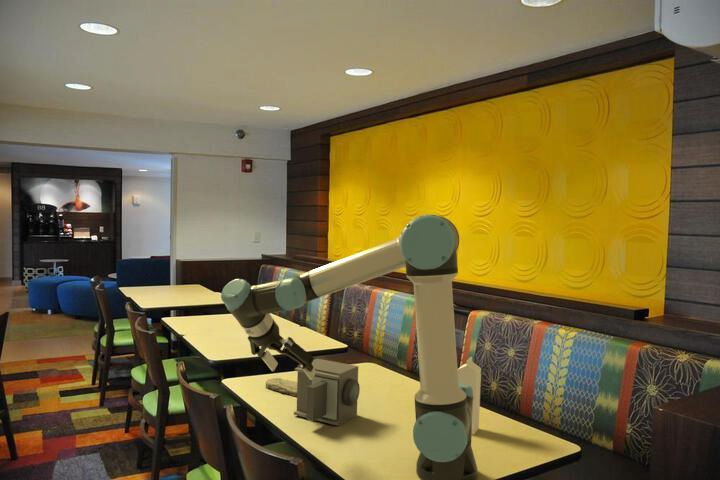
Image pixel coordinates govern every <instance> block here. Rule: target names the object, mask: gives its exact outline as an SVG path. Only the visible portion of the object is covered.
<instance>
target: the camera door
mask: <svg viewBox="0 0 720 480" xmlns="http://www.w3.org/2000/svg"><path fill="white" fill-rule="evenodd" d="M337 387H338V380H333V379H329V378H324V377H319V376H314V377H313V379H312V385H310V386H307V418H306V421H310V422H314V421H317V419H319V418H321V417H325V418H329V419H333V420H336V419H337Z"/></svg>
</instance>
